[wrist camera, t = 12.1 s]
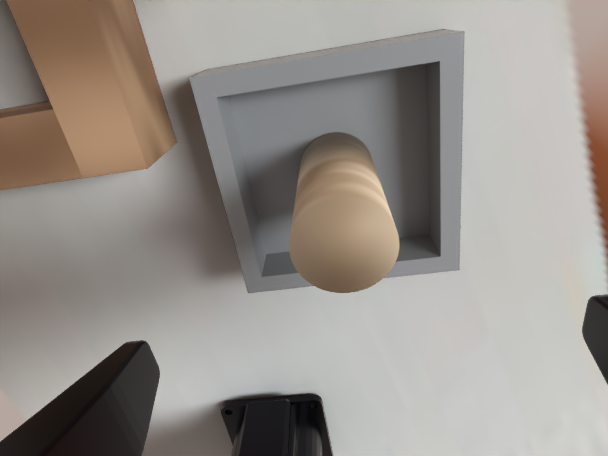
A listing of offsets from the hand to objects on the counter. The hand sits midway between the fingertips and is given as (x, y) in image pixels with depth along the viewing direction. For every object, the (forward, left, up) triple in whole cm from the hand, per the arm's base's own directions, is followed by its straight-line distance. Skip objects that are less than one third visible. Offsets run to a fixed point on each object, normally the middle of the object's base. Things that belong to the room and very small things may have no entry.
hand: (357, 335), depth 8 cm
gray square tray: (0, 0, -11) cm, 11 cm away
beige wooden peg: (0, 0, -11) cm, 11 cm away
